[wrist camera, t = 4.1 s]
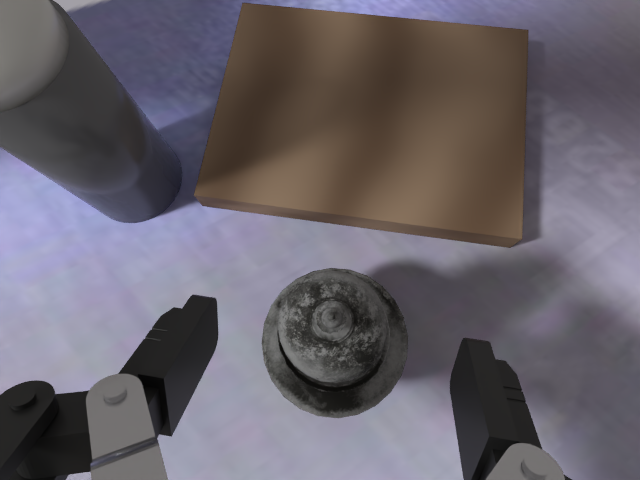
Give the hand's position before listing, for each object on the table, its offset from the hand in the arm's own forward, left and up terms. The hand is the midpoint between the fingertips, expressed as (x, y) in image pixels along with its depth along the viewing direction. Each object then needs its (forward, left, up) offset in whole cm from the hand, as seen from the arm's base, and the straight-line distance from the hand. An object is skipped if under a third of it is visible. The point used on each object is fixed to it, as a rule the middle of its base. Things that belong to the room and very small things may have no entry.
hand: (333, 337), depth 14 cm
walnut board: (0, +12, -7) cm, 14 cm away
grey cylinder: (-12, +7, -7) cm, 16 cm away
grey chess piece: (0, 0, -7) cm, 7 cm away
